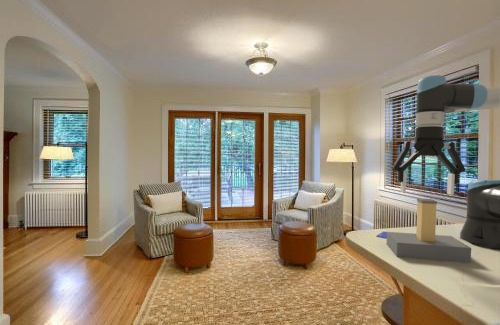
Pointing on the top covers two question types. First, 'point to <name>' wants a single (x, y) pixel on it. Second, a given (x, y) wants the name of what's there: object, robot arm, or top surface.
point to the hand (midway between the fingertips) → (426, 193)
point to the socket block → (428, 247)
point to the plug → (426, 219)
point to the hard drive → (382, 235)
